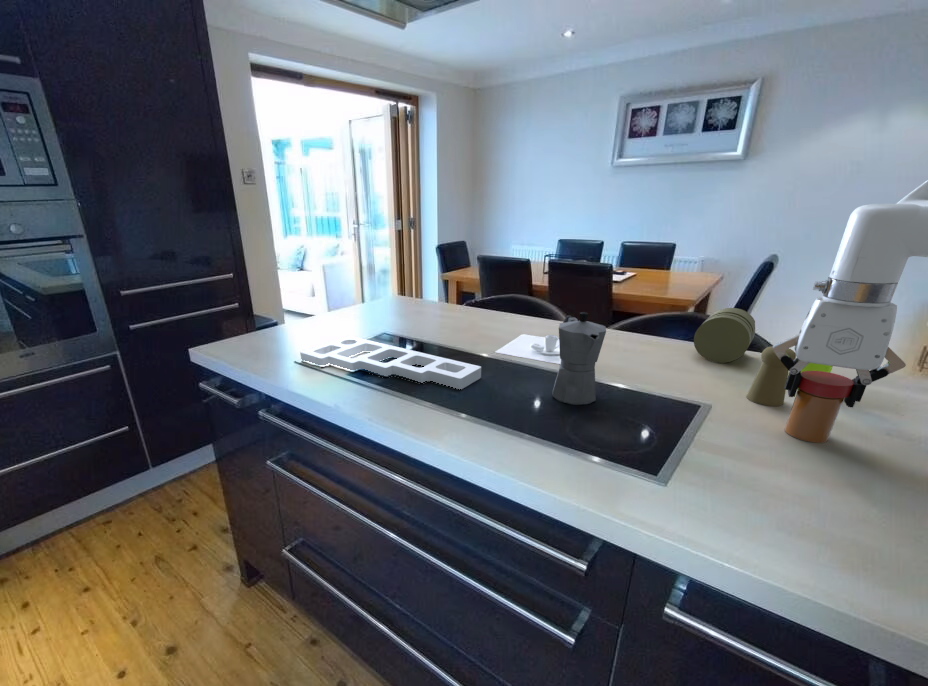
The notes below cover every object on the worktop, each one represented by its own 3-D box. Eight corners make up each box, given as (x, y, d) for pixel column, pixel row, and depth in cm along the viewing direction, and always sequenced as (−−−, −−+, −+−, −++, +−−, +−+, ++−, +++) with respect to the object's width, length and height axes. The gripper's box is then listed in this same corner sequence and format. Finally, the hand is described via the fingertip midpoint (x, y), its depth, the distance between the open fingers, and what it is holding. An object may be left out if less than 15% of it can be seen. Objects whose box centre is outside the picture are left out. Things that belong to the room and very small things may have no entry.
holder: (481, 377, 103) (482, 366, 102) (436, 404, 91) (435, 392, 90) (350, 344, 130) (349, 335, 129) (300, 361, 117) (299, 352, 116)
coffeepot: (609, 408, 87) (624, 319, 80) (562, 410, 86) (572, 321, 79) (579, 379, 101) (589, 301, 94) (538, 381, 101) (545, 303, 94)
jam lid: (797, 392, 72) (801, 380, 71) (794, 379, 77) (798, 367, 76) (852, 401, 68) (857, 389, 67) (846, 387, 73) (850, 375, 72)
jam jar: (821, 429, 77) (840, 378, 73) (833, 445, 72) (855, 391, 69) (780, 424, 79) (797, 373, 76) (789, 439, 75) (808, 386, 71)
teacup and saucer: (527, 352, 119) (528, 337, 117) (537, 344, 125) (539, 330, 123) (559, 357, 114) (561, 342, 113) (568, 349, 120) (570, 335, 119)
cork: (788, 407, 85) (806, 354, 81) (751, 403, 87) (767, 351, 83) (777, 395, 90) (793, 344, 86) (742, 392, 92) (757, 342, 88)
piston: (749, 354, 113) (762, 311, 109) (742, 367, 105) (755, 321, 101) (699, 345, 120) (709, 305, 116) (689, 357, 112) (699, 314, 108)
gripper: (786, 291, 68) (754, 395, 75) (950, 302, 59) (897, 421, 66) (783, 283, 74) (754, 381, 81) (933, 292, 64) (885, 402, 71)
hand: (819, 398), depth 73 cm, fingers closed on jam lid, 6 cm apart
